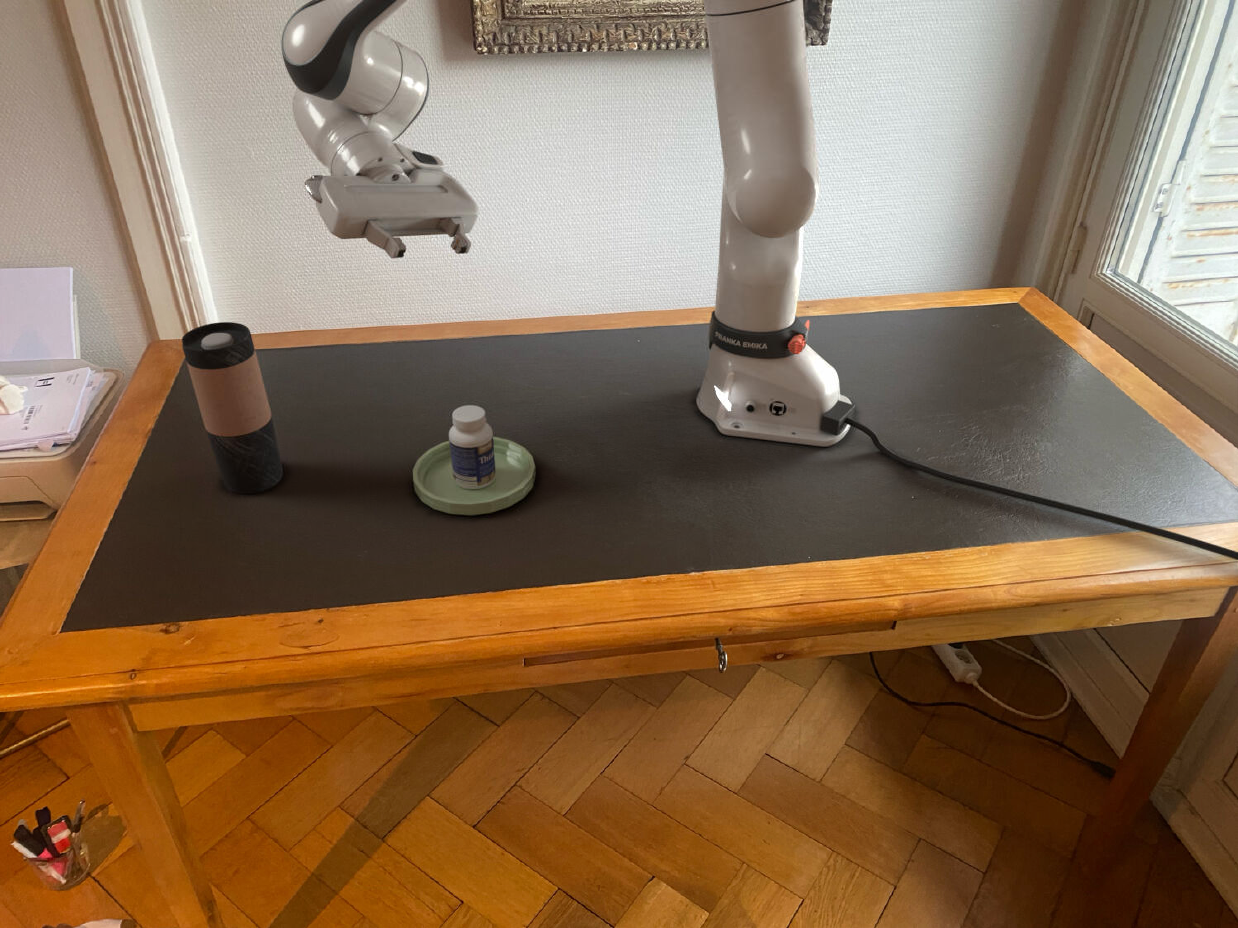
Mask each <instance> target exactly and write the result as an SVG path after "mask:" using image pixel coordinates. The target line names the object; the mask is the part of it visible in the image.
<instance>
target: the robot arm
mask: <svg viewBox="0 0 1238 928" xmlns="http://www.w3.org/2000/svg"><path fill="white" fill-rule="evenodd" d="M410 1H412V0H310V1H309V2H306V3H305V4H304V5H302V6H301V7H299V8H298V9H297V10H296V11H295V12H294V13H293V14H292V15H291V16H290V17H289V19H288V20H287V22H286V23H285V25H284V28H283V31H282V34H281V40H280V41H281V42H280V45H281V46H280V47H281V55H282V59H283V62H284V66H285V69H286V71H287V73H288V75H289V77H290V79H291V81H292V82H293V84H294V86H295V87H296V89H295V91H294V94H293V97H292V104H291V105H292V112H293V113H292V114H293V118H294V121H295V124H296V126H297V129H298V131H299V133H300V135H301V136H302V138H303V141H304V142H305V143H306V145H307V146H308V148H309V149H310V150H311V152H312V154H313V155H314V156H315V157H316V159H317V160H318V161H319V162H320V163H321V164H322V165H323V166H324V167H326V168H327V169H328V170H329V173H330V174H329V175H322V174H313V175H311V176H310V178H307V179H306V180H305V181H304V189H305V191H306V193H308V195H309V197H310V198H311V200H314V201H315V206H316V209H317V211H318V214H319V215H320V218H321V219H322V221H323V224H324V225H325V227H326V228H327V230H328V232H329V233H330V234H331V235H333V236H335V237H337V238H338V239H341V240H354V239H355V240H356V239H366V240H367V241H368V243H370V244H372V245H374V246H375V247H377V248H379V249H381V250H383V251H385V253H386V254H387V255H388V257H389V258H390V259H401V258H404V256H405V253H406V251H407V246H406V243H404V242H403V240H402V239H401V237H418V236H437V235H448V237H449V238H453V240H452V241H451V243H450V248H451V249H452V250H453V251H454V253H455V254H457V255H461V254H463V255H464V254H468V253H469V251H470V249H471V247H472V243H471V240H470V239H469V238H468V237H467V235H466V234H470V233H471V232H472V231H473V228H474V226H475V224H476V222H477V219H478V216H479V211H480V209H479V205H478V204H477V202H476V201H475V199H474V198H473V197H472V196H471V195H470V193H469V192H468V191H467V190H466V189H465V187H464V186H463V185H462V184H461V183H460V182H459V181H458V180H457V179H456V177H454V176H453V175H451V174H449V173H447V172H445V167H446V166H445V163H444V162H443V161H442V159H441V158H440V157H438V156H435V155H432V154H428V153H424V152H420V151H417V150H415V149H412V148H410V147H406V146H404V145H402V144H401V143H398V142H394V141H396V140H397V139H399V138H400V137H401V136H402V135H403V134H404V133H405V132H406V130H407V129H409V127H410V126H411V125H412V124H413V123H414V122H415V121H416V120H417V118H418V117H419V116H420V114H421V113H422V111H423V110H424V108H425V106H426V104H427V101H428V97H429V92H430V78H429V72H428V68H427V66H426V63H425V61H424V59H423V57H422V56H421V55H420V54H419V53H418V52H416V51H414V50H413V49H411V48H409V47H408V46H407V45H404V44H403V43H401V42H399V41H398V40H396V39H394V38H392V37H391V36H389V35H386V34H384V33H382V32H380V31H379V30H377V29H379V28H380V27H381V26H382V25H383V24H385V23H386V22H387V21H389V20H390V19H391V18H392V17H393V16H394V15H396V14H397V13H398V12H399V11H400V10H401V9H403V8H404V7H405V6H406V5H407V4H409V3H410ZM703 6H704V7H703V8H704V13H705V14H704V15H705V23H706V31H707V39H708V47H709V56H710V63H711V64H710V65H711V72H712V73H711V74H712V80H713V89H714V95H715V104H716V112H717V121H718V131H719V137H720V145H721V155H722V164H723V174H722V175H723V176H722V191H721V207H720V208H721V209H720V225H719V226H720V228H719V247H718V263H717V277H716V278H717V279H716V290H715V301H714V310H713V311H711V316H710V320H709V327H708V328H709V329H708V349H709V355H708V361H707V365H706V369H705V373H704V377H703V380H702V383H701V386H700V388H699V390H698V391H699V392H698V394H697V396H696V406H697V407H698V409H699V411H700V412H701V413H702V414H703V415H704V416H705V417H706V418H708V419H709V420H711V422H713V423H714V424H715V426H716V428H717V430H718V431H719V433H721V434H723V435H726V436H731V437H741V438H749V439H757V440H765V441H773V442H781V443H789V444H790V443H791V444H797V445H805V446H806V445H807V446H815V447H825V448H826V447H830V446H832V445H835V444H837V443H838V442H840V441H841V440H842V439H844V438H845V436H846V435H847V434H848V432H849V431H850V428H851V427H852V428H854V429H856V430H859V431H861V432H862V433H864V434H865V435H867V436H868V437H869V439H870V440H872V441H871V442H872V444H873V445H874V447H875V448H876V449H877V450H879V452H881V453H882V454H884V455H885V456H887V457H888V458H890V459H892V460H894V461H896V462H898V463H899V464H901V465H903V466H906V467H909V468H912V469H915V470H918V471H921V472H922V473H926V474H929V475H931V476H934V477H937V478H940V479H944V480H946V481H950V482H953V483H956V484H957V483H958V484H961V485H965V486H968V487H969V486H970V487H973V488H976V489H977V488H978V489H981V490H986V491H989V492H993V493H997V494H1001V495H1005V496H1007V497H1012V498H1016V499H1020V500H1023V501H1026V502H1032V503H1035V504H1039V505H1043V506H1046V507H1050V508H1055V509H1057V510H1061V511H1065V512H1070V513H1074V514H1078V515H1082V516H1085V517H1089V518H1092V519H1096V520H1100V521H1103V522H1108V523H1112V524H1115V525H1119V526H1123V527H1127V528H1130V529H1133V530H1137V531H1141V532H1144V533H1148V534H1151V535H1155V536H1158V537H1162V538H1165V539H1169V540H1171V541H1172V540H1173V541H1175V542H1179V543H1182V544H1185V545H1189V546H1192V547H1196V548H1198V549H1202V550H1205V551H1209V552H1212V553H1215V554H1218V555H1221V556H1224V557H1227V558H1231V559H1234V560H1235V561H1236V560H1237V561H1238V551H1236V550H1233V549H1230V548H1226V547H1223V546H1221V545H1217V544H1213V543H1211V542H1208V541H1203V540H1202V539H1198V538H1194V537H1191V536H1187V535H1184V534H1181V533H1177V532H1174V531H1171V530H1167V529H1164V528H1161V527H1156V526H1153V525H1149V524H1146V523H1141V522H1138V521H1135V520H1131V519H1127V518H1124V517H1120V516H1116V515H1112V514H1108V513H1104V512H1102V511H1098V510H1094V509H1089V508H1085V507H1082V506H1079V505H1074V504H1070V503H1067V502H1063V501H1059V500H1055V499H1051V498H1048V497H1043V496H1040V495H1035V494H1031V493H1028V492H1023V491H1020V490H1016V489H1012V488H1008V487H1004V486H1000V485H996V484H992V483H989V482H985V481H981V480H978V479H973V478H969V477H964V476H960V475H956V474H953V473H950V472H946V471H943V470H940V469H937V468H934V467H931V466H929V465H925V464H923V463H920V462H917V461H914V460H911V459H908V458H906V457H903V456H901V455H899V454H897V453H895V452H893V450H891V449H889V448H888V447H887V446H886V445H884V444H883V443H882V442H881V440H880V438H879V436H878V434H877V433H876V432H875V431H874V430H873V429H871V428H870V427H869V426H867V425H866V424H863V423H861V422H860V421H858V420H856V419H855V420H854V419H853V418H854V413H855V407H856V405H855V404H852V402H851V400H850V399H849V398H848V397H847V396H845V395H843V394H841V387H840V380H839V376H838V372H837V371H836V369H835V368H834V367H833V366H832V365H831V364H830V363H828V362H827V361H826V359H824V358H822V356H820V354H818V353H817V352H816V351H815V350H813V348H811V346H809V345H808V344H807V343H808V337H809V329H810V319H807V321H806V322H805V323H803V322H802V320H801V319H799V318H798V316H797V306H798V299H799V291H800V283H801V275H802V269H803V245H804V244H803V243H804V226H805V225H806V224H807V223H808V221H809V220H810V219H811V217H812V215H813V213H814V211H815V210H816V209H815V208H816V206H817V202H818V199H819V194H820V186H821V185H820V171H819V170H820V168H819V160H818V159H819V157H818V149H817V140H816V132H815V131H816V130H815V121H814V111H813V104H812V103H813V102H812V93H811V87H810V80H809V79H810V78H809V68H808V56H807V41H806V26H805V14H804V0H703Z"/></svg>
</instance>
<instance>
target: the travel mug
mask: <svg viewBox="0 0 1238 928" xmlns="http://www.w3.org/2000/svg"><path fill="white" fill-rule="evenodd" d="M181 344H182V351H183V354H184V357H185V361H186V366H187V369H188V373H189V376H190V379H191V383H192V387H193V390H194V393H195V397H196V400H197V403H198V404H197V405H198V408H199V412H200V414H201V418H202V422H203V425H204V428H205V431H206V435H207V437H208V440H209V443H210V446H211V450H212V453H213V456H214V458H215V461H216V464H217V467H218V470H219V473H220V476H221V479H222V482H223V484H224V486H225V488H226V489H227V490H228V491H230V492H231V493H234V494H240V495H252V494H257V493H261V492H264V491H267V490H269V489H272V488H273V487H274V486H276V485H277V484H279V483H280V481H281V480H282V478H283V474H284V472H283V464H282V460H281V454H280V450H279V445H278V440H277V435H276V431H275V425H274V421H273V416H272V411H271V408H270V403H269V399H268V395H267V392H266V387H265V383H264V379H263V375H262V372H261V367H260V363H259V359H258V356H257V353H256V352H257V351H256V348H255V345H254V341H253V336H252V334H251V330H250V329H249V327H248V326H246V325H244V324H242V323H238V322H233V321H219V322H213V323H208V324H203V325H200V326H197V327H194V328H193V329H191V330H189V331H187V332H186V333H185V334H183V336H182V338H181Z"/></svg>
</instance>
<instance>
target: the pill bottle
mask: <svg viewBox="0 0 1238 928" xmlns="http://www.w3.org/2000/svg"><path fill="white" fill-rule="evenodd" d="M486 416H487V415H486V411H485V409H484V408H482V407H481V406H478V405H471V404H470V405H469V404H468V405H462V406H460V407H459V406H458V407H457V408H456V409H454V410H453V412H452V416H451V417H452V426H451V427H450V429H449V431H448V441H449V443H450V452H451V460H452V470H453V477H454V481H455V483H456V484H457V485H458V486H460V487H462V488H465V489H481V488H484V487H487V486H489V485H490V484H491V483H492V482H493V481H494V480H495V477H496V470H495V456H494V443H493V437H494V432H493V429H492V427H491V425H490V424H489V423H488V422H487V417H486Z"/></svg>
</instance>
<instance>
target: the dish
mask: <svg viewBox="0 0 1238 928" xmlns="http://www.w3.org/2000/svg"><path fill="white" fill-rule="evenodd" d="M493 443H494V456H495V470H496V477H495V480H494V481H493V482H492V483H491V484H490V485H489V486H487V487H484V488H481V489H465V488H462V487H460V486H458V485H457V484H456V483H455V481H454V477H453V470H452V460H451V452H450V443H449V440H447V441H444V442H441V443H439V444H437V445H435V446H433V447H431V448H430V449H427V451H426V452H424V453H423V454H422V455H421V456H419V458H418V459H417V460H416V462H415V464H414V466H413V468H412V481H413V482H412V483H413V488H414V489H413V490H414V493H415V494H416V495H417V496H418V498H419V500H420V502H422V503H424V504H425V505H427V506H428V507H430V508H432V509H433V510H437V511H438V512H442V513H445V514H450V515H462V516H478V515H484V514H491V513H495V512H498V511H500V510H504V509H507V508H509V507H511V506H513V505H514V504H516V503H518V502H519V501H520V502H521V500H523V499H524V498H525V497H526V496H528V494H529V492H531V490H532V489H533V487H534V483H535V480H536V477H537V476H536V464H535V462H534V457H533V455H532V454H531V453H530V451H529V450H527V449H526V448H525V447H524V446H522V445H520V444H518V443H517V442H515V441H513V440H510V439H506V438H502V437H498V436H493Z"/></svg>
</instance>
